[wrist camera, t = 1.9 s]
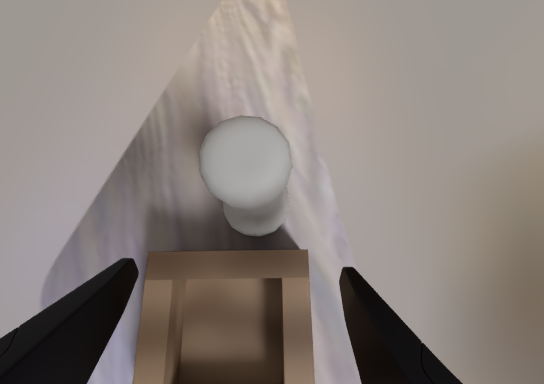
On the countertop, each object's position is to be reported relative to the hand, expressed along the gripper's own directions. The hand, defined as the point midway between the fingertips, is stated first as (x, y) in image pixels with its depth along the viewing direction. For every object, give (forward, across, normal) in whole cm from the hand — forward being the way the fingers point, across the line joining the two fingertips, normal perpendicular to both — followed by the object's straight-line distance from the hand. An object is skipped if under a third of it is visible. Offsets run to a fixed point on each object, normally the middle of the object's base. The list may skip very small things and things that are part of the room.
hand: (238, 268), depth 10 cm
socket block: (+4, +2, +12) cm, 13 cm away
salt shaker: (+12, 0, +5) cm, 13 cm away
